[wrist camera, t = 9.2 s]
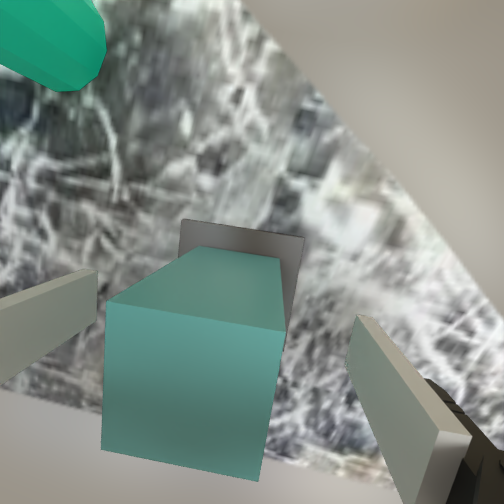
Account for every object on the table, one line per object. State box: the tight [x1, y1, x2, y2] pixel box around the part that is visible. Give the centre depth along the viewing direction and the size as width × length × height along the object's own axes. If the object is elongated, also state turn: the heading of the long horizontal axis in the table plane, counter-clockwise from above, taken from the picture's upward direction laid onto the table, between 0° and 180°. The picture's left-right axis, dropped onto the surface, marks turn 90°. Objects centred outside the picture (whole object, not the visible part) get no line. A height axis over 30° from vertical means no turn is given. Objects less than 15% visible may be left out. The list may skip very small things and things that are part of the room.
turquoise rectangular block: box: [101, 246, 286, 482], centre depth 13 cm, size 5×5×10 cm
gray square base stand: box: [178, 219, 305, 352], centre depth 13 cm, size 8×8×10 cm
